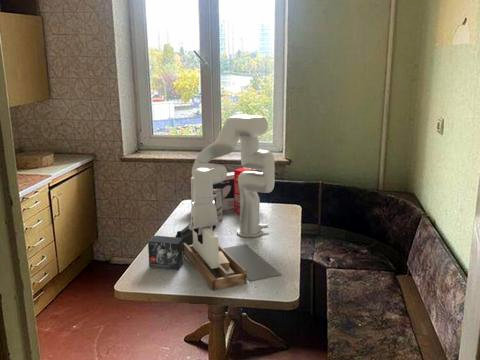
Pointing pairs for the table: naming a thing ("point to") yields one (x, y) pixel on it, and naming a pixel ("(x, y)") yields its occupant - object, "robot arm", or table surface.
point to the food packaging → (236, 189)
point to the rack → (216, 269)
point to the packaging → (227, 191)
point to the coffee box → (218, 203)
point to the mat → (252, 263)
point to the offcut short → (223, 260)
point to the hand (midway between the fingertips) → (204, 241)
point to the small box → (165, 252)
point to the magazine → (186, 235)
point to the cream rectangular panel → (207, 247)
